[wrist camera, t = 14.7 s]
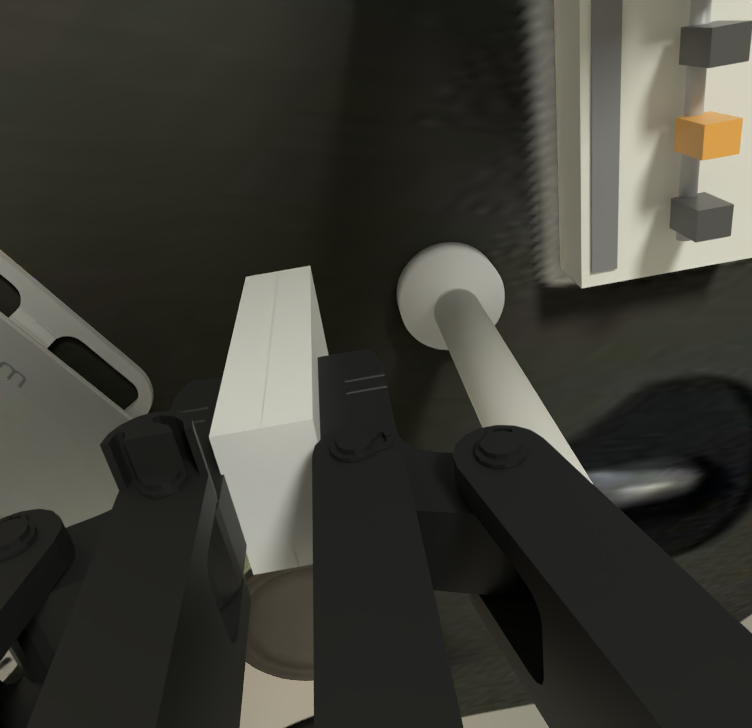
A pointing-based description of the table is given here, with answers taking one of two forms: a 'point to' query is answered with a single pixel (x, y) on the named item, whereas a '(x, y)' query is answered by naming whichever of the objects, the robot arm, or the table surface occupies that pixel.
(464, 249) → the white peg stand
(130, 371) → the network device
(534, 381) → the table surface
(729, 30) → the breaker paddles
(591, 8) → the breaker panel
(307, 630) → the coffee can
